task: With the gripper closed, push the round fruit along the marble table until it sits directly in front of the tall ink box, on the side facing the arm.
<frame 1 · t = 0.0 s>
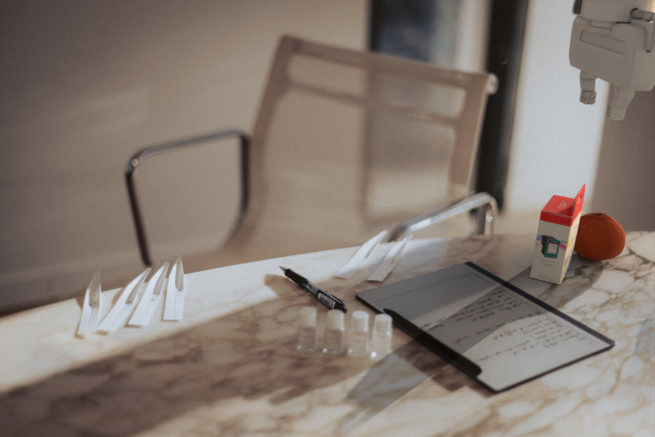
hand: (599, 111, 86), 28 cm above the table, tool pointing down, fingers open, 8 cm apart
fruit: (591, 258, 107), on the table
ink box: (550, 272, 102), on the table
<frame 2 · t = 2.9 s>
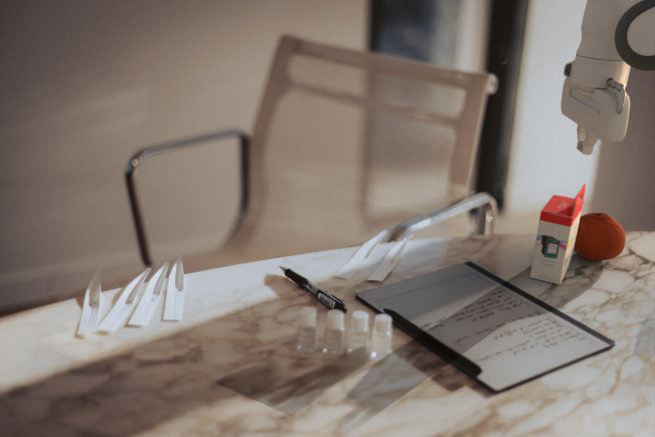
hand: (584, 152, 111), 15 cm above the table, tool pointing down, fingers closed
nothing on the table moved.
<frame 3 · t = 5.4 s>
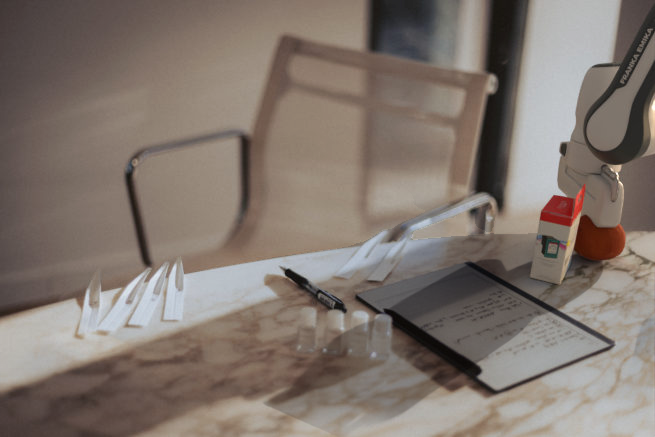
hand: (580, 230, 112), 2 cm above the table, tool pointing down, fingers closed
fruit: (591, 258, 107), on the table, touching gripper
everything else where it was.
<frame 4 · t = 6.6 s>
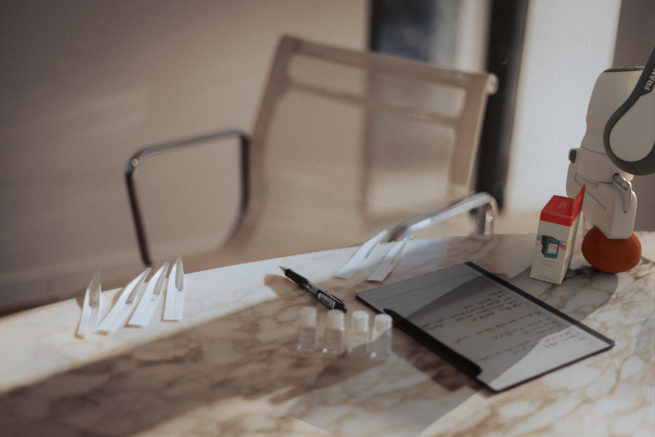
hand: (589, 240, 108), 2 cm above the table, tool pointing down, fingers closed
fruit: (605, 270, 103), on the table, touching gripper
everything else where it was.
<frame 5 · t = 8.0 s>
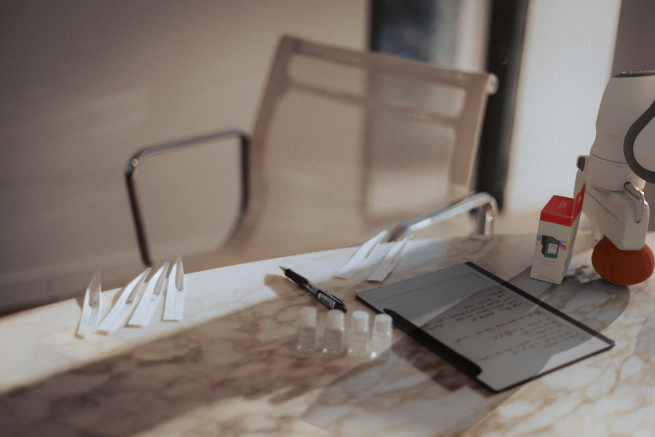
hand: (598, 251, 104), 2 cm above the table, tool pointing down, fingers closed
fruit: (616, 282, 99), on the table, touching gripper
everything else where it was.
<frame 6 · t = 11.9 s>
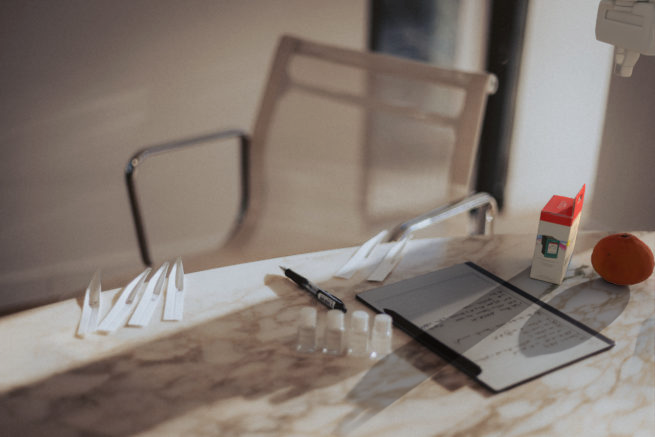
hand: (621, 75, 106), 29 cm above the table, tool pointing down, fingers closed
fruit: (616, 282, 99), on the table
everything else where it was.
at the end: fruit inside the target area on the table beside the ink box (3.5 cm from its centre), on the table; ink box moved 0.2 cm from its start; ink box tilted 0° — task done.
